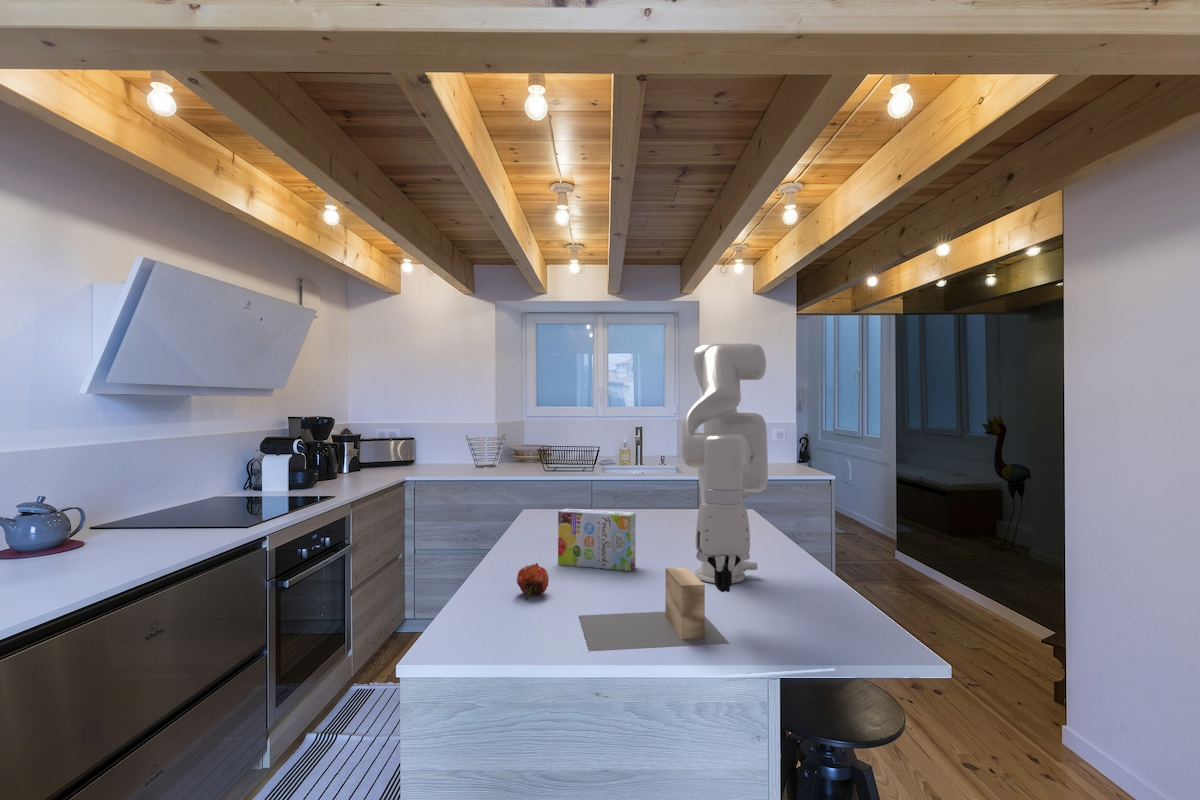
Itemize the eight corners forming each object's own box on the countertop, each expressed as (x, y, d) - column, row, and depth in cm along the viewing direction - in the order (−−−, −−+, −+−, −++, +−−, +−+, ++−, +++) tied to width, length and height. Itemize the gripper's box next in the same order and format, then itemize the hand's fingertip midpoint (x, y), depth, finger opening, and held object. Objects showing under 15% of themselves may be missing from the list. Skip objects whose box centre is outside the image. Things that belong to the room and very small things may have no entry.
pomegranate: (545, 609, 135) (558, 573, 143) (534, 589, 131) (548, 553, 139) (517, 608, 138) (531, 573, 145) (505, 589, 134) (520, 553, 142)
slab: (686, 615, 124) (686, 567, 124) (704, 637, 112) (704, 584, 112) (665, 616, 123) (665, 568, 123) (681, 639, 111) (681, 585, 111)
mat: (699, 611, 127) (699, 609, 127) (729, 645, 110) (729, 643, 110) (578, 617, 124) (578, 615, 124) (589, 653, 106) (589, 650, 106)
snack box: (636, 567, 163) (636, 511, 163) (630, 572, 157) (630, 515, 158) (564, 560, 170) (564, 507, 170) (556, 565, 164) (556, 510, 164)
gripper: (751, 494, 124) (751, 583, 123) (681, 495, 121) (681, 586, 121) (766, 499, 116) (766, 594, 116) (692, 500, 114) (692, 597, 114)
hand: (723, 589), depth 118 cm, fingers closed
